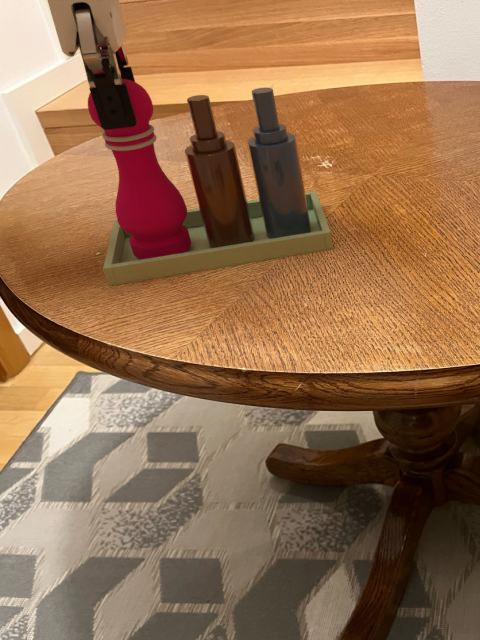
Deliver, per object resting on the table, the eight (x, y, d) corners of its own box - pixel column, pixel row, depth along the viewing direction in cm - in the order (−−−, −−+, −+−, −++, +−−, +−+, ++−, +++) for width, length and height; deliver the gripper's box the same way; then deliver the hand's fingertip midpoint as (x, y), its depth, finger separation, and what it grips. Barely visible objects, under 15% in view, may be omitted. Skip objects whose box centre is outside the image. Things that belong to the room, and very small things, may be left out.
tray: (110, 289, 77) (102, 268, 75) (120, 239, 87) (113, 220, 85) (333, 252, 82) (330, 232, 80) (319, 209, 92) (316, 190, 90)
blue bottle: (268, 244, 83) (237, 99, 74) (264, 226, 87) (235, 87, 78) (313, 237, 84) (289, 93, 75) (308, 219, 88) (284, 81, 79)
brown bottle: (208, 254, 81) (170, 107, 72) (208, 235, 86) (172, 94, 76) (256, 246, 83) (224, 101, 73) (253, 228, 87) (223, 88, 78)
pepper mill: (131, 269, 78) (67, 77, 67) (127, 242, 84) (67, 61, 73) (200, 254, 81) (150, 66, 69) (191, 229, 86) (144, 51, 75)
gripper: (32, -92, 70) (93, 99, 80) (-8, -79, 56) (71, 149, 66) (116, -97, 71) (164, 91, 82) (96, -86, 58) (158, 139, 68)
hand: (122, 115), depth 74 cm, fingers closed on pepper mill, 6 cm apart
